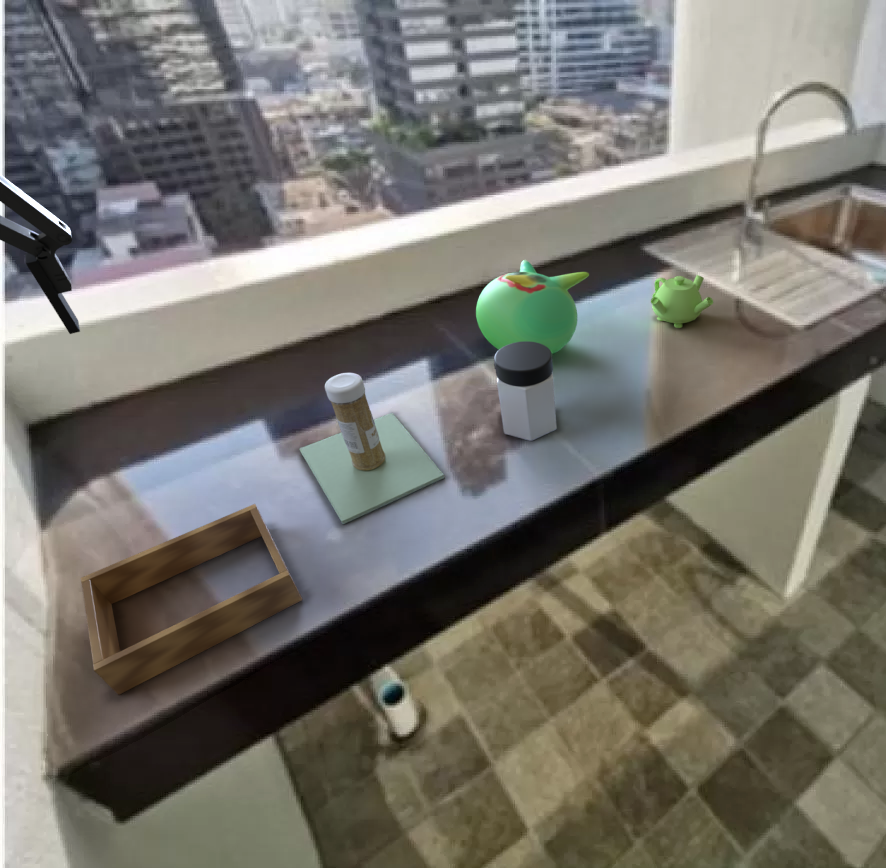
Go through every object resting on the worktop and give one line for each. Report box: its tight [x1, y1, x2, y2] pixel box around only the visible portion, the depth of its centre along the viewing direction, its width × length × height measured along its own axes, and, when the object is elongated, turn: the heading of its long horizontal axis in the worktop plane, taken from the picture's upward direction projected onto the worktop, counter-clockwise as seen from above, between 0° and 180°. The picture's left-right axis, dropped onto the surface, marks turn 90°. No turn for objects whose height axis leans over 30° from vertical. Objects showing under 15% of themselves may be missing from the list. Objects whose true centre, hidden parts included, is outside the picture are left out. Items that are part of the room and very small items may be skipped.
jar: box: [493, 341, 558, 442], centre depth 88 cm, size 9×8×12 cm
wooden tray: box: [80, 503, 303, 696], centre depth 66 cm, size 18×14×4 cm
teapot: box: [650, 274, 714, 329], centre depth 115 cm, size 11×12×8 cm
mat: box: [299, 412, 445, 525], centre depth 85 cm, size 18×14×1 cm
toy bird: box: [475, 259, 590, 355], centre depth 104 cm, size 18×17×15 cm
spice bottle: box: [324, 372, 385, 471], centre depth 80 cm, size 5×5×14 cm
